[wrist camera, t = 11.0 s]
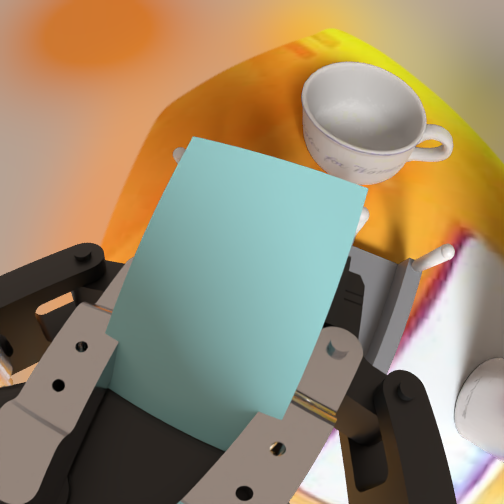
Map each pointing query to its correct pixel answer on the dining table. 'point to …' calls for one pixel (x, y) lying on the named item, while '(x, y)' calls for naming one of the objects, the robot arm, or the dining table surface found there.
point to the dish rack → (383, 294)
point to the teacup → (366, 123)
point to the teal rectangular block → (230, 289)
